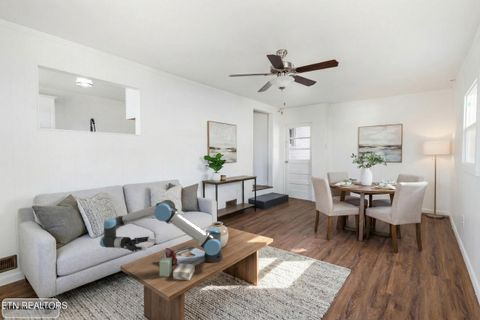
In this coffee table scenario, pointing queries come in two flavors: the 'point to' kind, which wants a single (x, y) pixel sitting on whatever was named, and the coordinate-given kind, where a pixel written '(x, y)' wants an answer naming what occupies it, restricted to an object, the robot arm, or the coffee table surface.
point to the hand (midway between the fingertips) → (152, 244)
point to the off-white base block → (184, 271)
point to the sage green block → (165, 266)
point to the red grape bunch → (171, 255)
